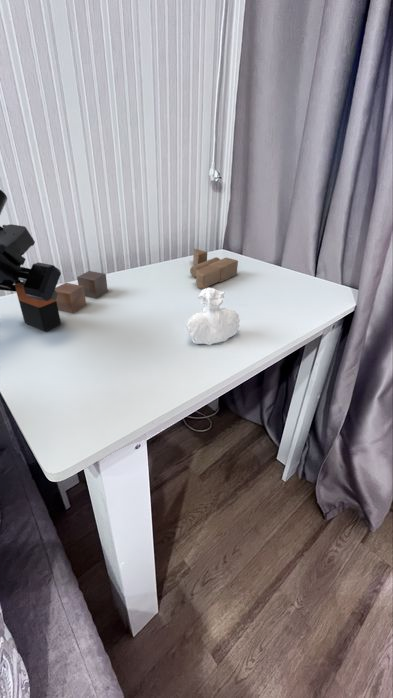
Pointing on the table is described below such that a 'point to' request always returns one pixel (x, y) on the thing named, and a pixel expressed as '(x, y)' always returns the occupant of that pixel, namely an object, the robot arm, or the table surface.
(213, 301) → the bust
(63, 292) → the line block near
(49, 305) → the battery
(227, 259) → the wooden block set
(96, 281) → the line block far
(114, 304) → the table surface
